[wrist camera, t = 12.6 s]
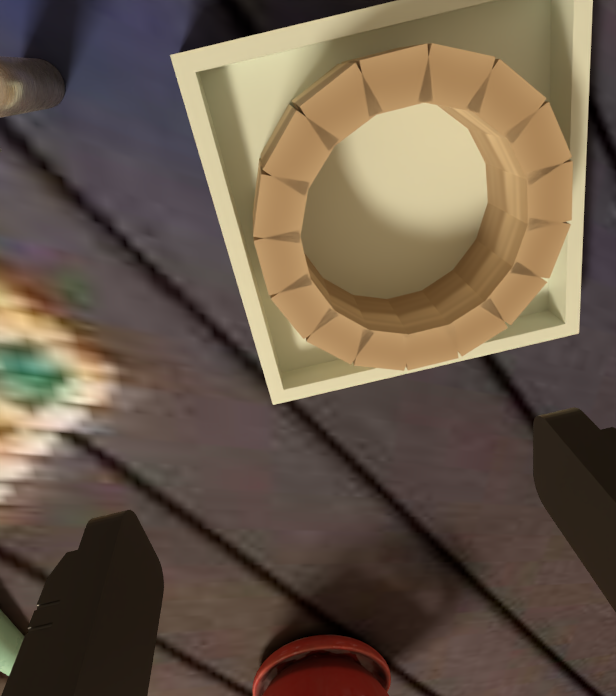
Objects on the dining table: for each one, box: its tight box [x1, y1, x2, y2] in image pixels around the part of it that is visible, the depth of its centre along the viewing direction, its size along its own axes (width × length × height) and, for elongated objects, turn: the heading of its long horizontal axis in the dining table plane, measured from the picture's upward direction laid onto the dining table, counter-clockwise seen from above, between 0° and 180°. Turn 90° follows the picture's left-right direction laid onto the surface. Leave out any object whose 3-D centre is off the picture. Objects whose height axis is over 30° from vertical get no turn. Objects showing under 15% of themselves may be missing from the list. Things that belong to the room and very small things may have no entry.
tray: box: [170, 0, 593, 405], centre depth 27 cm, size 18×18×2 cm
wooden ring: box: [253, 43, 573, 371], centre depth 25 cm, size 14×14×4 cm
